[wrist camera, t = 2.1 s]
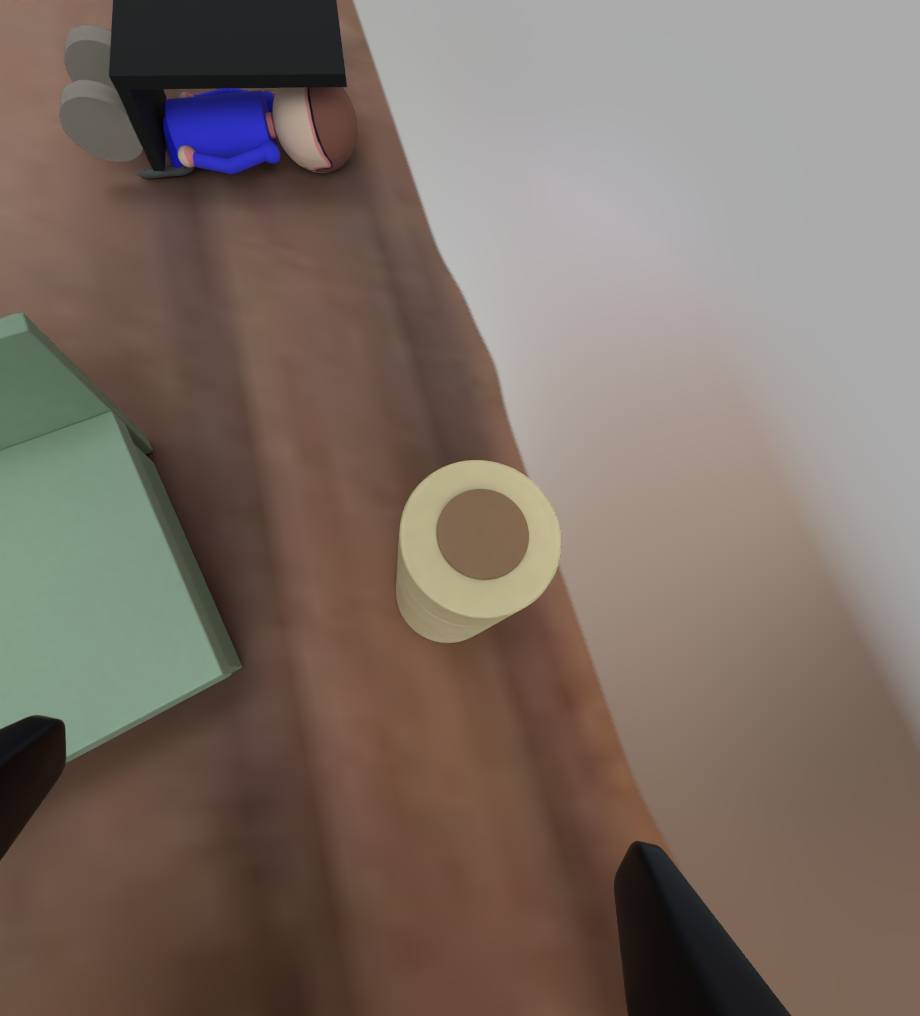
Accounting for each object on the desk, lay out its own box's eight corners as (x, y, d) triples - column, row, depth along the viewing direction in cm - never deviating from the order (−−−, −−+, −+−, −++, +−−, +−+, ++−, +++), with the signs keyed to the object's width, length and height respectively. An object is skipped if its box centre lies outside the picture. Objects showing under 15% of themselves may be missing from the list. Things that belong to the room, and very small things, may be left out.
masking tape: (469, 663, 23) (521, 650, 14) (375, 609, 23) (366, 562, 14) (515, 571, 25) (589, 505, 16) (428, 522, 25) (450, 429, 16)
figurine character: (123, 225, 30) (369, 197, 31) (20, 84, 23) (345, 55, 24) (126, 146, 32) (357, 123, 33) (33, -5, 25) (331, -28, 26)
